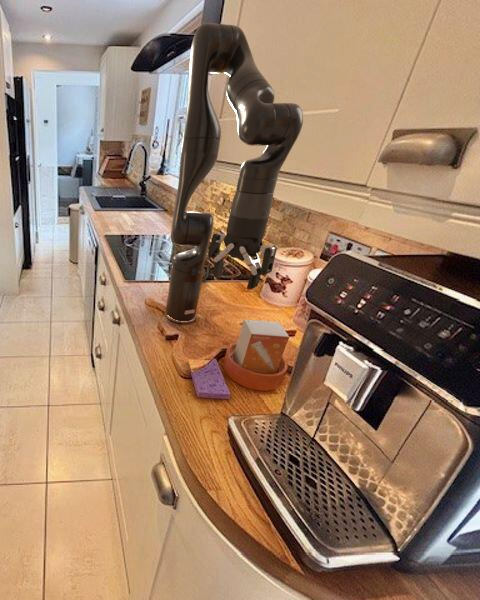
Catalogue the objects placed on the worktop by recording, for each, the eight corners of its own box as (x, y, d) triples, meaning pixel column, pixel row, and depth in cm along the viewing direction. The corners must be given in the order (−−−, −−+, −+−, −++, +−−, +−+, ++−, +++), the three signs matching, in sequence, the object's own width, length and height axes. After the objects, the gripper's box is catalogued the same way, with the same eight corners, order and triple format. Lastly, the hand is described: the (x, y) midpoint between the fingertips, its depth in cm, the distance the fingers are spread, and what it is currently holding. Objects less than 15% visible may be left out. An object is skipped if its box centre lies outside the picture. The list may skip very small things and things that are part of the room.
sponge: (197, 398, 74) (198, 391, 73) (187, 362, 85) (188, 356, 84) (229, 400, 73) (231, 393, 72) (214, 363, 84) (216, 358, 83)
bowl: (218, 354, 87) (221, 339, 85) (271, 359, 85) (276, 343, 83) (228, 388, 76) (233, 372, 74) (290, 395, 74) (297, 379, 71)
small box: (238, 378, 78) (250, 333, 72) (231, 361, 84) (242, 318, 77) (274, 381, 77) (290, 336, 71) (265, 364, 83) (279, 321, 76)
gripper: (293, 216, 66) (271, 288, 73) (229, 204, 76) (216, 269, 84) (273, 222, 62) (253, 298, 69) (209, 209, 72) (197, 276, 80)
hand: (233, 282), depth 77 cm, fingers open, 8 cm apart
